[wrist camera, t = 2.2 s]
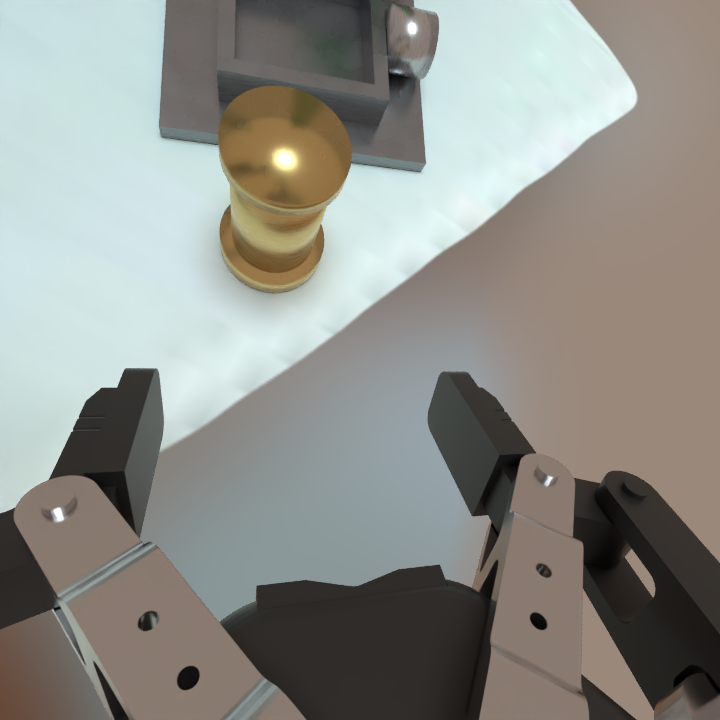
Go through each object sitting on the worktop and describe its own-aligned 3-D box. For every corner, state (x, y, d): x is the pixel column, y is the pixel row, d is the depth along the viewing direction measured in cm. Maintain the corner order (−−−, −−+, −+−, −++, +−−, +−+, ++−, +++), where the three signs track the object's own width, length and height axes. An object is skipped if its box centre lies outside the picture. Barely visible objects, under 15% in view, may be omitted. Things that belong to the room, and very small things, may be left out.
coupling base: (161, 137, 28) (145, 74, 24) (172, -60, 32) (160, -151, 27) (420, 171, 33) (450, 125, 28) (407, -3, 36) (433, -71, 31)
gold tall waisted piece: (219, 290, 27) (208, 202, 18) (222, 196, 29) (212, 67, 19) (320, 295, 29) (360, 217, 19) (318, 207, 30) (355, 93, 21)
